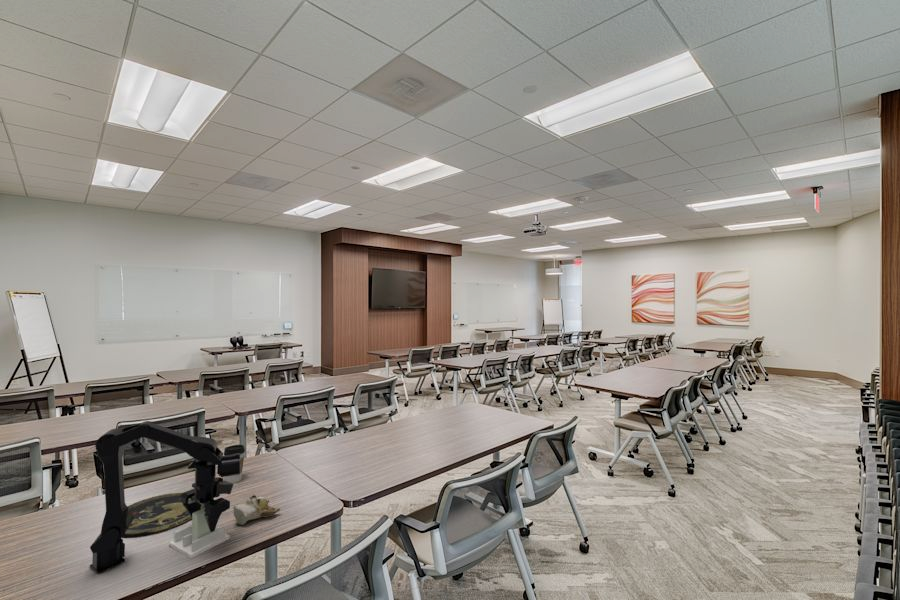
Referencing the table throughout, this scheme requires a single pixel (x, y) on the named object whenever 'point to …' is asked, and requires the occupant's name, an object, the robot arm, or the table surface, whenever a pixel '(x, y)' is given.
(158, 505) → the decorative plate
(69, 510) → the table surface
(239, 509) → the ceramic sculpture
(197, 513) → the sage tile
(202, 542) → the dish rack
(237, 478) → the coffee cup
